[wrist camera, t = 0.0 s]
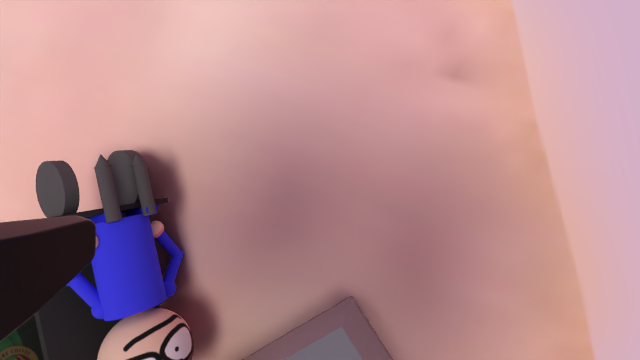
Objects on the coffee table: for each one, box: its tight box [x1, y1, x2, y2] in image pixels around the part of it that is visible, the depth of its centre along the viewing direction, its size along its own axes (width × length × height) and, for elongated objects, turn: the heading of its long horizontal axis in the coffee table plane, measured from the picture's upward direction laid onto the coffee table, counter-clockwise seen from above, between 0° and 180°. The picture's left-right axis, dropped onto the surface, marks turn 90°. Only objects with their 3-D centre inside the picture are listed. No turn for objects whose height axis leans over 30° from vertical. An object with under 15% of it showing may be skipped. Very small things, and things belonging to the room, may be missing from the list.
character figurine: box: [34, 150, 194, 360], centre depth 22 cm, size 8×7×15 cm
